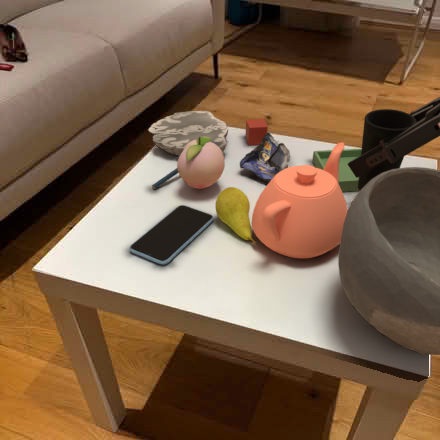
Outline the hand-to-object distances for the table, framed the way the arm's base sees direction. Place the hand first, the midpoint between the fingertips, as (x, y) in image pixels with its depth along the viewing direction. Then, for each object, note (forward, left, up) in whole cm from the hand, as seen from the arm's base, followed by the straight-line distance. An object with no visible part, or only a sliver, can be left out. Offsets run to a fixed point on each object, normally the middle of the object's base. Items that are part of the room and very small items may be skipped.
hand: (361, 159), depth 77 cm
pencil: (+35, -9, -9) cm, 38 cm away
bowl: (+2, +26, -8) cm, 28 cm away
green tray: (-4, -11, -9) cm, 15 cm away
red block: (+12, -27, -9) cm, 31 cm away
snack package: (+12, -14, -9) cm, 21 cm away
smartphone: (+32, +5, -9) cm, 34 cm away
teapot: (+11, +7, -9) cm, 16 cm away
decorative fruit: (+26, -9, -9) cm, 29 cm away
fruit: (+23, -1, -5) cm, 23 cm away
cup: (-3, +2, -5) cm, 6 cm away
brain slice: (+27, -28, -9) cm, 40 cm away
